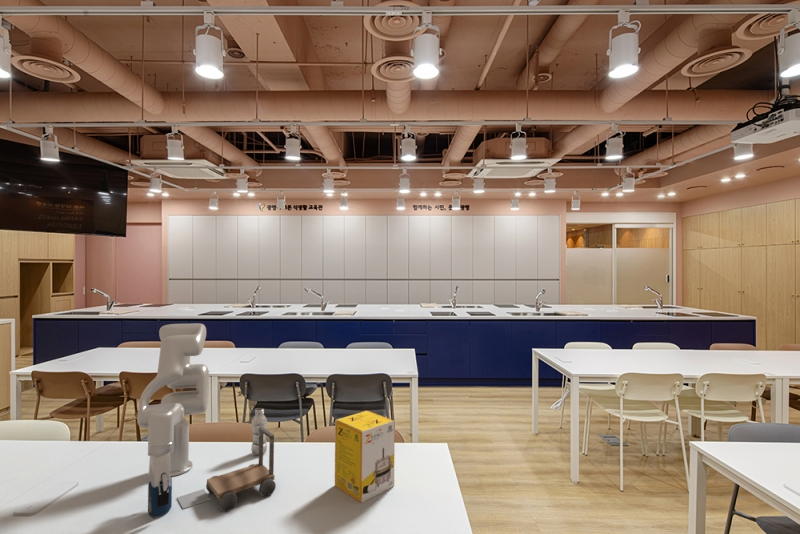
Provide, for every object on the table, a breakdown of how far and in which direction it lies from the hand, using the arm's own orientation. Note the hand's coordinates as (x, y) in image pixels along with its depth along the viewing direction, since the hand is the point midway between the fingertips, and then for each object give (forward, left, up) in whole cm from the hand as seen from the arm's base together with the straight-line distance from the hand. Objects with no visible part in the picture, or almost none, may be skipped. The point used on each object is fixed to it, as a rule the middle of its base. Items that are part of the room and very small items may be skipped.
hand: (159, 499), depth 136 cm
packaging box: (+31, +63, -5) cm, 70 cm away
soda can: (0, 0, -5) cm, 5 cm away
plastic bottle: (-22, +43, -5) cm, 49 cm away
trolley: (+6, +25, -5) cm, 26 cm away
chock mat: (-2, +11, -5) cm, 12 cm away
